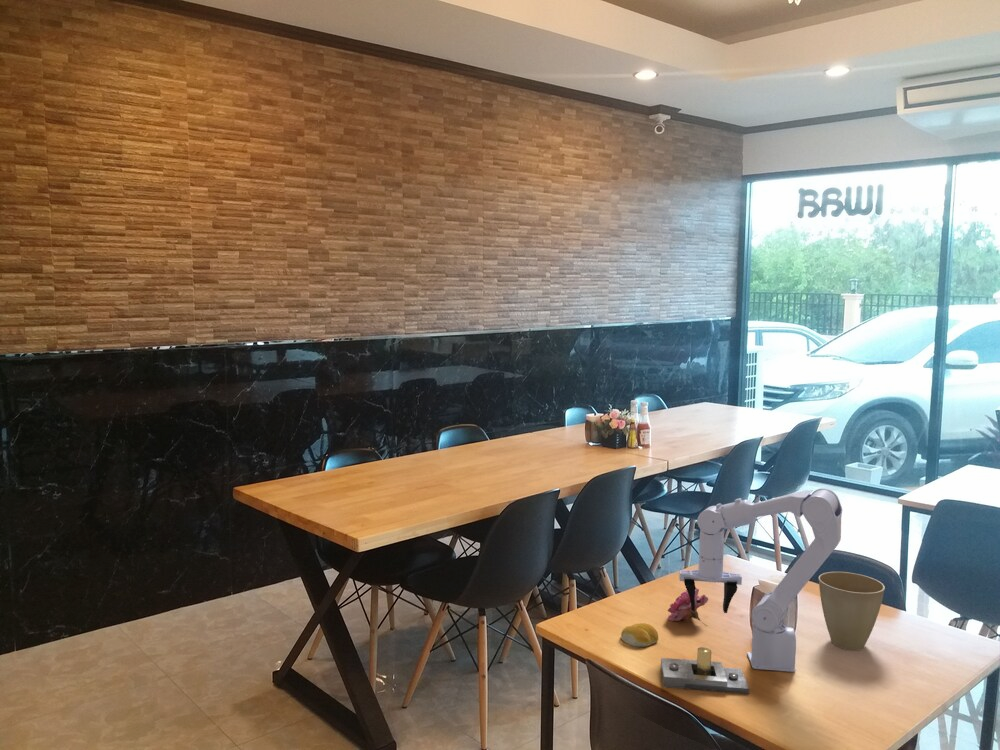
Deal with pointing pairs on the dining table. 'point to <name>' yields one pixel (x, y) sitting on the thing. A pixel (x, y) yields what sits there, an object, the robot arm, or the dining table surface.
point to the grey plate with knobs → (702, 677)
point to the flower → (686, 606)
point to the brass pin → (704, 661)
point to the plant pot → (850, 607)
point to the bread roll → (639, 635)
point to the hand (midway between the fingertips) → (708, 610)
